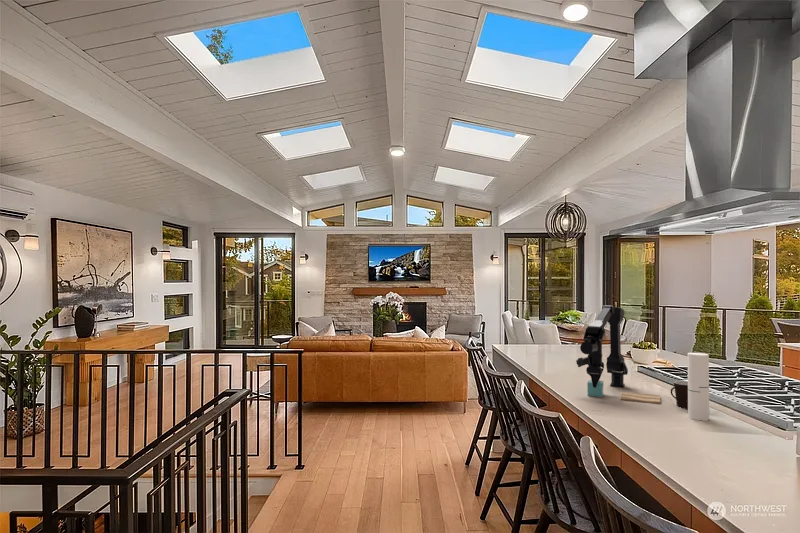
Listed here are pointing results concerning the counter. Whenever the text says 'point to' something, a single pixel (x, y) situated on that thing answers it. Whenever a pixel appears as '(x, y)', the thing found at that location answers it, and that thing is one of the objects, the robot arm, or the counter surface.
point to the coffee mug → (681, 393)
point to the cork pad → (640, 397)
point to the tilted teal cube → (595, 389)
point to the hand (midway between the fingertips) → (595, 385)
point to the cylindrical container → (698, 386)
